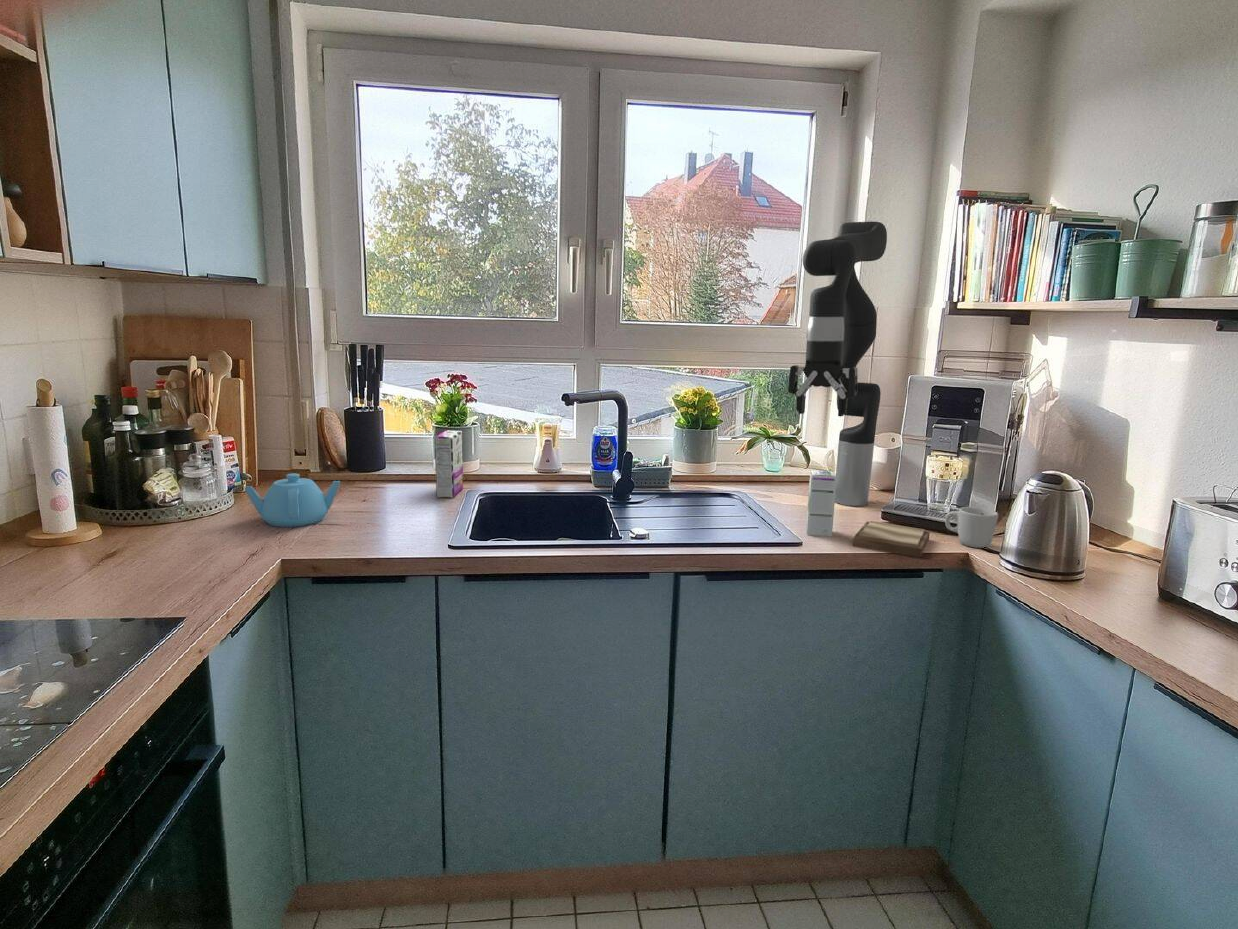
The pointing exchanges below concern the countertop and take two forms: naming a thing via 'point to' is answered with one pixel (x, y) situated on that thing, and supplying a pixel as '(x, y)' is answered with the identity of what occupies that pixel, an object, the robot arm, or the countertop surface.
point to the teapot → (293, 501)
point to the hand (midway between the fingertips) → (820, 414)
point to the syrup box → (821, 503)
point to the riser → (892, 538)
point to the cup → (974, 526)
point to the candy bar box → (448, 464)
